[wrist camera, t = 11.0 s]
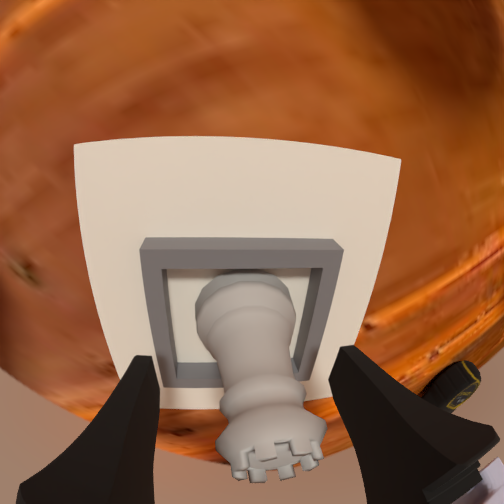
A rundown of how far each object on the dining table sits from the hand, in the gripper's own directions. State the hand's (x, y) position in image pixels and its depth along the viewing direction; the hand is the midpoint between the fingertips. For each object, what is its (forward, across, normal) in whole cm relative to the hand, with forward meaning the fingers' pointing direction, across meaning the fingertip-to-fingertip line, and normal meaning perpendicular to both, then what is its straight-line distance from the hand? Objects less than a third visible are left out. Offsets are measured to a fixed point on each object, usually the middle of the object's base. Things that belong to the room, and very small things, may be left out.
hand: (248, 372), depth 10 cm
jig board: (+4, 0, 0) cm, 4 cm away
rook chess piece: (+4, 0, -1) cm, 4 cm away
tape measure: (+5, -23, +13) cm, 26 cm away
